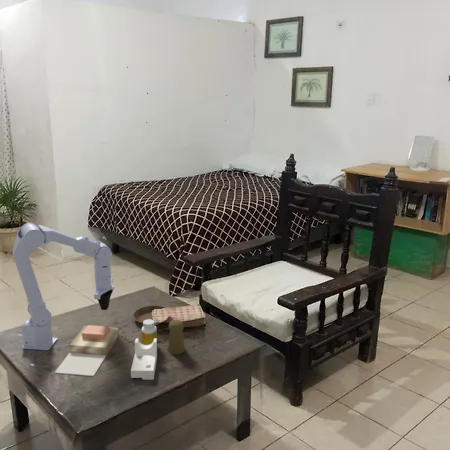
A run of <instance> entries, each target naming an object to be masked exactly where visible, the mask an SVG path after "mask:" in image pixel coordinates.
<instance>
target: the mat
mask: <svg viewBox="0 0 450 450" xmlns="http://www.w3.org/2000/svg"><path fill="white" fill-rule="evenodd" d="M106 358H107V355H94V354H81V353H70V352H69V353H68V354H67V355H66V357H65V358H64V359H63V361H62V362H61V363H60V364H59V366H58V367H57V369H55V371H54V374H57V375H58V374H61V375H70V376H71V375H72V376H86V377H95V375H96V373H97V372H98V371H99V368H100V367H101V365H102V363H103V362H104V361H105V359H106Z"/></svg>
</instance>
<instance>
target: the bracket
mask: <svg viewBox="0 0 450 450" xmlns="http://www.w3.org/2000/svg"><path fill="white" fill-rule="evenodd" d="M157 360H158V337H157V338H154V341H153V343H152V344H150V345H143V344H142V342H141V341H140V339H139V338H137V337H136V338H135V340H134V356H133V360H132V365H131V368H130V378H131V379H134V378H135V379H140V378H141V379H142V380H147V381H148V380H154V379H155V373H156V367H157Z"/></svg>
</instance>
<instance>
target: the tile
mask: <svg viewBox="0 0 450 450" xmlns="http://www.w3.org/2000/svg"><path fill="white" fill-rule="evenodd" d="M86 326H87V327H86V329H85V330H84V331H83V332H82V338H86V339H99V340H104V339H105V338H106V336H107V335H108V333H109V332H110V326H107V325H105V326H104V325H91V324H90V325H89V324H88V325H86Z"/></svg>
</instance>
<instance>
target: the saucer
mask: <svg viewBox="0 0 450 450" xmlns="http://www.w3.org/2000/svg"><path fill="white" fill-rule="evenodd" d="M162 308H166V307H165V306H161V305H148V306H143V307H140V308H137V309H136V310H135V312H133V314H132V315H133V316H132V317H133V319H134V320H135V321H136V322H137V323H139V325H142V326H143V321H144V320H147V319H151V312H152V310H154V309H162Z"/></svg>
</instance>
